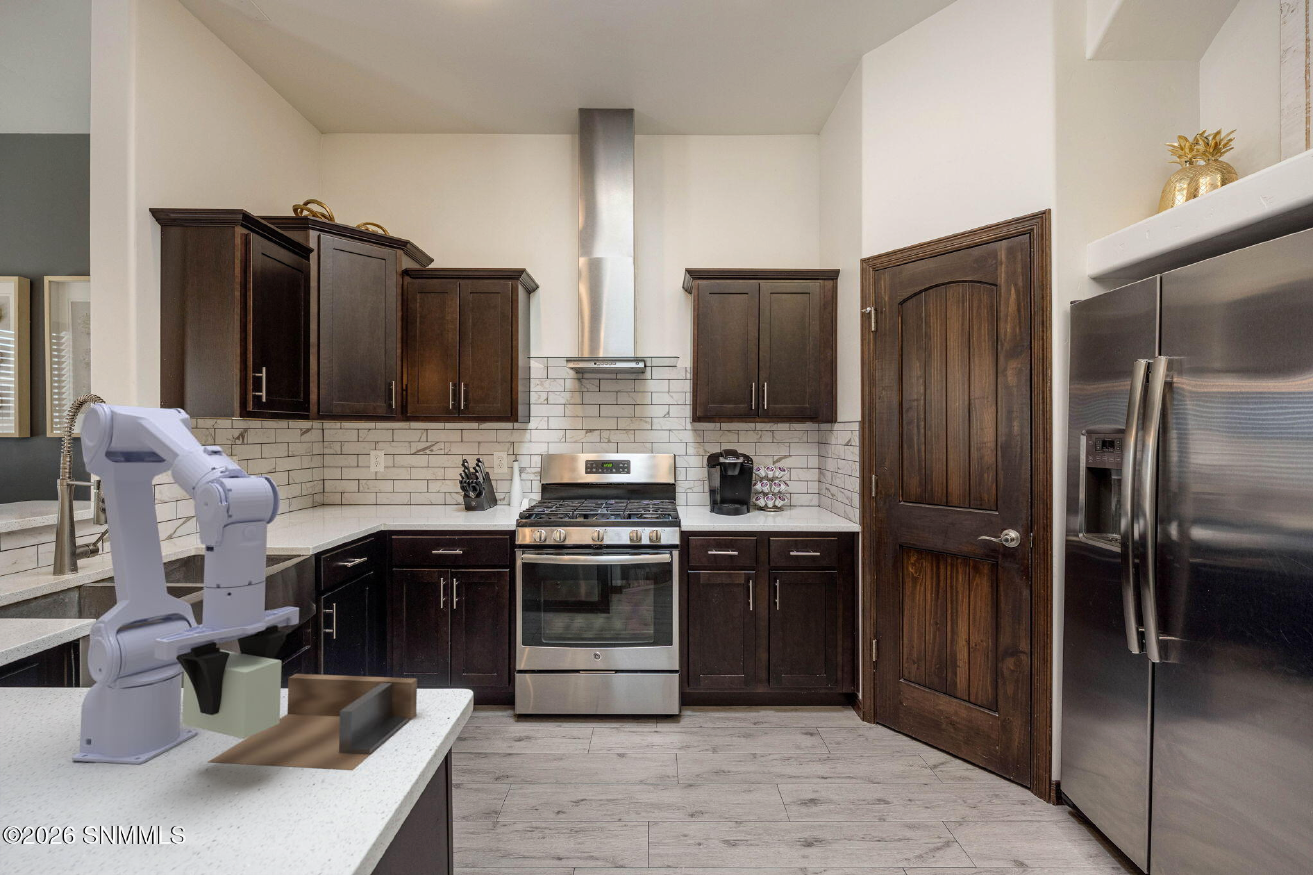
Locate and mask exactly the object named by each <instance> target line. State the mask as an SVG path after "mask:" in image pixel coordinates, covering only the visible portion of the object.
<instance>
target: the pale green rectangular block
mask: <svg viewBox="0 0 1313 875" xmlns="http://www.w3.org/2000/svg"><path fill="white" fill-rule="evenodd" d="M219 651H223V652H228V653H229V654H230V655H229V657H228V660H227V663H226V666H225V670H224V674H223V680H222V692H221V704H220V709H219V713H217V714H214V715H208V714H204V713H200V708H199V704H198V700H197V696H196V693H195V690H194V688H193V685H192V683H191V681H190V679H189V677H188V675H187V673H186V672H185V670H184V671H183V689H182V690H183V693H182V716H181V717H182V719H181V724H182V725H185V726H189V727H193V728H198V729H202V730H205V731H210V732H214V733H218V734H221V735H226V736H229V737H234V738H238V739H242V740H245V739H247V738H248V737H250V736H252V735H254V734H257V733H259V732H261V731H263V730H266V729H268V728H270V727H272V726H275V725H277V724H279V723H280V717H281V716H280V715H281V693H282V692H281V690H282V689H281V688H282V686H281V685H282V683H281V682H282V660H280V659H276V658H274V659H270V658H264V657H258V656H253V655H247V654H241V653H240V652H235V651H229V650H224V649H220V650H219Z"/></svg>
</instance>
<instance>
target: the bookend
mask: <svg viewBox="0 0 1313 875" xmlns="http://www.w3.org/2000/svg"><path fill="white" fill-rule="evenodd" d="M391 714H392V683H381V684H379V685H378V686H376V687H375V688H373V689H372V690H370V691H369V692H367V693H366V694H365V695H363V696H362V697H360V698H359V699H357V700H356V701H354V702H353V703H351V704H350V705H348V706H347V707H345V708H344V709H342V710H341V711H340V732H339V753H348V754H367V755H370V754H371V753H372V752H373V751H374V750H376V749H377V748H378V747H379V746H380V745H381V744H382V743H384V742H385V741H386V740H387V739H388V738H389V737H391V736H392V735H393V734H394V733H395V732H396V731H398V730H399V729H400V728H401V727H402V726H403V725H405V724H406V723H407V722H408V717H399V716H391ZM408 723H409V722H408ZM408 723H407V724H408ZM407 724H406V725H407ZM406 725H405V726H406ZM403 727H404V726H403ZM403 727H402V728H403ZM402 728H401V729H402ZM401 729H400V730H401ZM400 730H399V731H400ZM399 731H398V732H399ZM395 734H396V733H395ZM395 734H394V735H395ZM394 735H393V736H394ZM393 736H392V737H393ZM392 737H391V738H392ZM388 740H389V739H388ZM388 740H387V741H388ZM387 741H386V742H387ZM386 742H385V743H386ZM385 743H384V744H385ZM381 746H382V745H381ZM381 746H380V747H381ZM380 747H379V748H380ZM379 748H378V749H379ZM378 749H377V750H378ZM377 750H376V751H377ZM374 752H375V751H374ZM374 752H373V753H374ZM373 753H372V754H373ZM372 754H371V755H372ZM371 755H370V756H371Z"/></svg>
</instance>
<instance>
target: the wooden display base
mask: <svg viewBox="0 0 1313 875" xmlns="http://www.w3.org/2000/svg"><path fill="white" fill-rule="evenodd" d="M287 680H288V682H287V684H288V686H287V688H288V689H287V691H288V692H287V714H285V715H283V716H282V717H281V718H280V723H279V724H277V725H275V726H272V727H270V728H268V729H266V730H263V731H261V732H259V733H257V734H254V735H252V736H250V737H247V738H245V739H242V741H240V742H238V743H237V744H235V745H233V746H231V747H230V748H228V749H226V750H224V751H223V752H222V753H220V754H218V755H217V756H215V757H213V758H212V759H210V760H208V761H207V763H209V764H210V763H211V764H229V765H232V764H233V765H246V766H247V765H249V766H268V767H284V768H301V769H304V768H305V769H318V770H319V769H321V770H339V771H354V770H355V769H356V768H357V767H358V766H359V765H360V764H362V763H363V762H364V761H365V760H367V759H368V758H369V757H370V756H371V755H372V754H373V753H375V752H376V751H377V750H378V749H379V748H381V747H382V746H383V745H384V744H385V743H386V742H387V741H389V740H390V739H391V738H392V737H393V736H394V735H395V734H397V733H398V732H399V731H400V730H401V729H402V728H404V726H406V725H407V724H408V723H410V722H411V720H413V719H414V718H415V717H416V716H417V706H418V705H417V699H418V697H417V696H418V692H417V691H418V678H415V677H414V678H411V677H407V678H406V677H388V676H387V677H384V676H361V675H359V676H358V675H337V674H336V675H333V674H331V675H330V674H314V673H313V674H308V673H307V674H306V673H295V674H293V675H292V676H289V677H288V679H287ZM381 683H392V714H391V716H399V717H408V722H407V723H406V724H405V725H403V726H402V727H401V728H400V729H399V730H398V731H396V732H395V733H394V734H393V735H392V736H391V737H389V738H388V739H387V740H386V741H385V742H384V743H382V744H381V745H380V746H379V747H378V748H377V749H376V750H374V751H373V752H372V753H371V754H370V755H367V754H348V753H339V732H340V711H341V710H342V709H344V708H345V707H347V706H348V705H350V704H351V703H353V702H354V701H356V700H357V699H359V698H360V697H362V696H363V695H365V694H366V693H367V692H369V691H370V690H372V689H373V688H375V687H376V686H378V685H379V684H381Z"/></svg>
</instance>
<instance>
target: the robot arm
mask: <svg viewBox="0 0 1313 875" xmlns="http://www.w3.org/2000/svg"><path fill="white" fill-rule="evenodd" d="M79 433H80V442H81V449H82V450H81V451H82V459H83V462H84V465H85V470H86V472H87V473H89V474H91V475H94V476H96V477H98V478H100V481H101V486H102V493H103V497H104V498H103V499H104V506H105V516H106V522H107V531H108V539H109V548H110V556H111V562H112V563H111V564H112V571H113V579H114V580H113V581H114V588H115V595H116V604H115V605H114V606H112V608H110V609H109V610H107V612H105V613H104V614H103V615H101V616H100V617H99V618H98V619H97V620H96V621H94V623H93V624H92V626H91V627H90V630H89V647H88V651H87V666H88V671H89V674H90V677H91V678H92V679H93V680H94V681H95V682H96V683H94V684H93V685H92V686H91V687H90V688H89V690H88V691H87V693H86V694H85V696H84V698H83V701H82V704H81V711H80V712H81V713H80V714H81V716H80V735H79V752H78V753H76V754H73V755H72V756H71V760H72V761H77V762H78V761H79V762H95V763H109V764H110V763H111V764H112V763H114V764H126V765H127V764H132V765H142V764H144V763H146V762H148V761H150V760H152V759H154V758H156V757H159V755H161V754H163V753H165V752H167V751H168V750H169V751H170V750H171V749H172V748H175V747H177V746H179V745H181V744H182V743H184V742H186V741H188V740H190V739H192V738H193V737H195V736H197V735H198V733H199V731H198V730H197V729H196V730H194V729H193V730H191V729H181V713H182V712H181V709H182V708H181V707H182V685H183V684H182V683H183V682H182V679H183V673H184V670H185V672H186V673H187V675H188V677H189V679H190V681H191V683H192V685H193V688H194V690H195V693H196V696H197V700H198V704H199V708H200V713H204V714H208V715H214V714H217V713H219V709H220V704H221V692H222V680H223V674H224V670H225V666H226V663H227V660H228V657H229V655H230V654H229V653H228V652H223V651H220V650H221V648H220V647H219V646H218V647H217V645H219V644H223V643H227V642H230V641H235V640H237V642H238V643H237V644H238V646H239V653H241V654H247V655H253V656H258V657H264V658H270V659H275V657H276V655H277V654H278V652H279V650H280V648H281V646H282V645H283V644H284V642H285V641H286V638H287V637H286V633H287V632H286V631H284V630H279V628H280V627H284V626H294V625H298V624H299V622H300V608H299V607H296V606H295V607H294V606H285V607H281V608H280V607H278V608H275V609H268V610H265V608H266V607H265V606H266V604H265V603H266V577H267V576H266V575H267V573H266V572H267V571H266V570H267V547H268V546H267V544H268V541H267V540H268V525H270V524H271V523H273V522H274V521H275V519H276V518H277V516H278V513H279V510H280V505H281V500H280V492H279V489H278V487H277V485H276V483H275V481H274V480H273V479H272V477H271V476H269V475H257V476H256V475H249V473H247V472H246V471H245V470H244V469H242V468H241V467H240V466H239V465H238V464H237V463H236V462H235V461H233V459H231V458H230V457H229V456H228V455H227V454H225V453H224V449H222V447H221V446H220V445H202V444H201V443H200V442H199V441H198V440H197V438H196V437H195V436H194V435H193V433H192V423H191V417H190V415H189V414H187V413H186V411H185V410H183V409H182V408H175V407H173V408H162V407H161V408H160V407H148V406H147V407H146V406H145V407H144V406H131V405H117V404H116V405H115V404H107V403H106V402H105V403H104V402H96V403H94V404H92V405H91V406H90V407H89V408H87V410H86V411H85V413H84V416H83V419H82V424H81V427H80V432H79ZM168 472H170V473H171V478H172V480H173V481H174V483H175V484H177V485H178V486H179V487H180V488H181V490H183V491H184V492H185V493H186V494H187V495H188V497H190V498H191V499H192V500H193V502H194V503H193V504H194V505H193V508H194V516H195V519H196V522H197V524H198V525H197V526H198V529H199V531H198V532H199V537H198V539H199V540H200V544H201V545H204V571H203V594H202V595H203V597H202V620H201V621H202V623H201V624H198V623H197V621H196V619H195V616H194V613H193V609H192V606H191V604H190V603H188V602H186V601H184V600H181V599H179V598H177V597H174V596H172V595H171V594H169V593H168V589H167V581H166V575H165V574H166V573H165V568H164V560H163V554H162V546H161V540H160V538H161V537H160V532H159V531H160V530H159V524H158V518H157V510H156V509H157V508H156V503H155V496H154V488H153V480H155V478H156V477H157V476H160V475H162V474H165V473H168ZM157 621H158V622H157ZM151 622H152V623H151ZM145 623H147V624H145ZM140 624H142V625H140ZM134 625H137V626H134ZM130 626H132V627H130ZM123 627H124V628H123ZM125 627H127V628H125ZM120 628H123V629H120Z"/></svg>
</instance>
